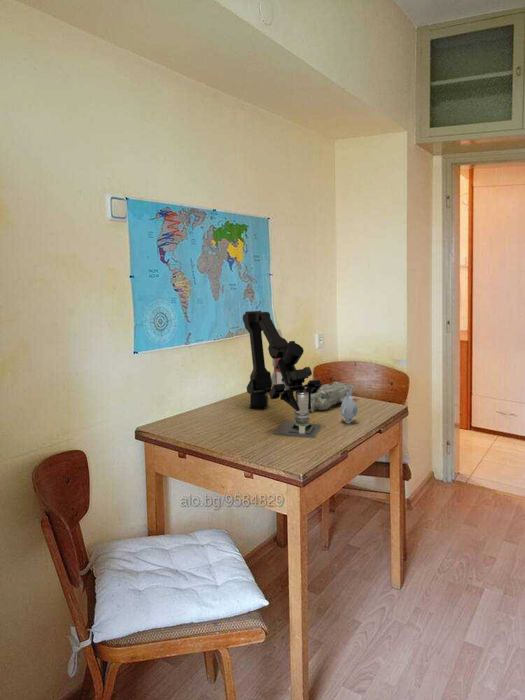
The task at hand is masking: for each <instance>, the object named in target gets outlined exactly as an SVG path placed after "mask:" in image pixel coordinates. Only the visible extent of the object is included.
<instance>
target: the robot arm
mask: <svg viewBox="0 0 525 700" xmlns="http://www.w3.org/2000/svg"><path fill="white" fill-rule="evenodd" d="M242 322H243V324H244V329H246V331H247V332H248V334H249V341H250V348H251V350H250V351H251V361H252V371H251V373H250V376H249V377H250V378H249V381H248V383H247V385H246V393H247V394H249V395H250V406H249V407H248V408H249V409H253V410H254V409H255V410H265V409H266V408H268V407H269V398H270V399H271V400H274V399H275V400H278V399H277V398H279V396H280V394H281V398H280V399H279V400H280V401H284V402H285V403H286V404H288V405H289V406H290V407H291V408H292V409H294V411H298V410H299V408H298V405H297V403H296V397H295V395H294V392H295V393H296V391H308V392H309V398H308V409H311V394H315V393H317V391H318V390H319V389H320V387H321V386H323V383H322V381H321V380H320V379H317V378H316V379H310V380H308V381H307V383H306V384H304V383H305V381H306V380H305V379H309V377H311V376H312V375H313V374H312V373H313V372H312V369H311V367H310V366H305V367H303V368H301V369H297V368H296V365H297V364H298V363H299V361H300V359H301V357H302V356H303V354H304V348H303V347H302V346H301V345H300V344H298V343H296V341H295V340H289V341H288V340H286V339H285V338H284V337H283V336H282V337H281V336H280V335H279V333H278V329H277V328H276V325H275V324H274V322H273V320H272V318H271V313H270V312H268V311H262V310H249V311H245V312H244V314H242ZM262 332H263V335H264V336H265V338H266V340H267V343H268V348H267V350H268V354H269V356H270V358H272V360H273V359H279V358H281V359H279V361H278V362H277V365H276V369H279V370H280V373H281V375H282V379H281V380H282V382H284V383H285V385H284V384H276V383H275V385H272V380H271V375H272V374H271V371H268V370H267V369H268V368H266V364H265V354H264V342H263V336H262ZM272 386H273V387H272ZM271 387H272V389H271ZM268 392H269V395H270V397H268V396H267V393H268ZM279 393H280V394H279Z"/></svg>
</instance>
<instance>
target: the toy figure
mask: <svg viewBox="0 0 525 700" xmlns="http://www.w3.org/2000/svg"><path fill="white" fill-rule="evenodd" d="M351 394H352V395H353V393H352V391H351V390H350V392H347V394H346V397H345V398H344V400H343V402H341V405H340V408H339V412H340V414H341V415H340V416H342V418H344V419H345V420H344V423H345V424H348V425H350V424H351V423H353V422H354V420H353V419H354V418H355V417H356V415H357V413H358V407H357V404H356V401H355V398H354V397H353V396H352V395H351Z"/></svg>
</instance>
